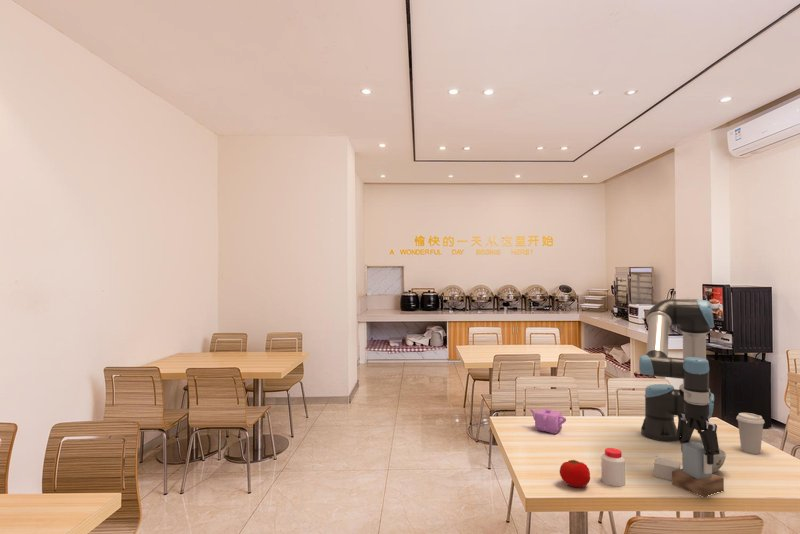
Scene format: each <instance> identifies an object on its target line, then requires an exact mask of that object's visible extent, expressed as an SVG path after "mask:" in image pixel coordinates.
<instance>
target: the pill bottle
mask: <svg viewBox="0 0 800 534" xmlns="http://www.w3.org/2000/svg"><path fill="white" fill-rule="evenodd" d="M601 481H602V482H603V483H604V484H606V485H609V486H613V487H624V486H625V485H626V459H625V457H624V456H623V453H622V451H621V450H620V449H618V448H613V447H607V448H605V449H604V453H603V454H602V455H601Z"/></svg>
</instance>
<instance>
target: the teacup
mask: <svg viewBox="0 0 800 534" xmlns="http://www.w3.org/2000/svg"><path fill="white" fill-rule="evenodd" d="M719 453H720V454H718V455H714V461H713V462H714V463H713V464H712V474H715V473H716V472H717V471H719V470H720V469H721V468H722V467H723V465H724V464H725V461H726V457H727V453H726V452H725V451H724V450H723V449H721V448H719Z"/></svg>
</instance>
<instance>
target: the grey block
mask: <svg viewBox="0 0 800 534" xmlns="http://www.w3.org/2000/svg"><path fill="white" fill-rule="evenodd" d="M678 469H681V460H678V459H673V458H667V457H662V456H658V455H655V458H654V462H653V477H657V478H660V479H665V480H669V481H670V480H671V481H672V471H675V470H678Z"/></svg>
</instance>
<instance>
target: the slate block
mask: <svg viewBox="0 0 800 534" xmlns="http://www.w3.org/2000/svg"><path fill="white" fill-rule="evenodd" d="M709 451H710V450H709ZM704 453H706V452H705V449H704V446H703V443H701V442H697V441H691V442H690V441H689V443H682V451H681V456H682V459H681V460H682V461H681V462H682V468H683V472H684V473H686V474H688V475H690V476H692V477H694V478H697V479H701V478H708V477H712V474H713V473H709V474H705V473H704Z"/></svg>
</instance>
